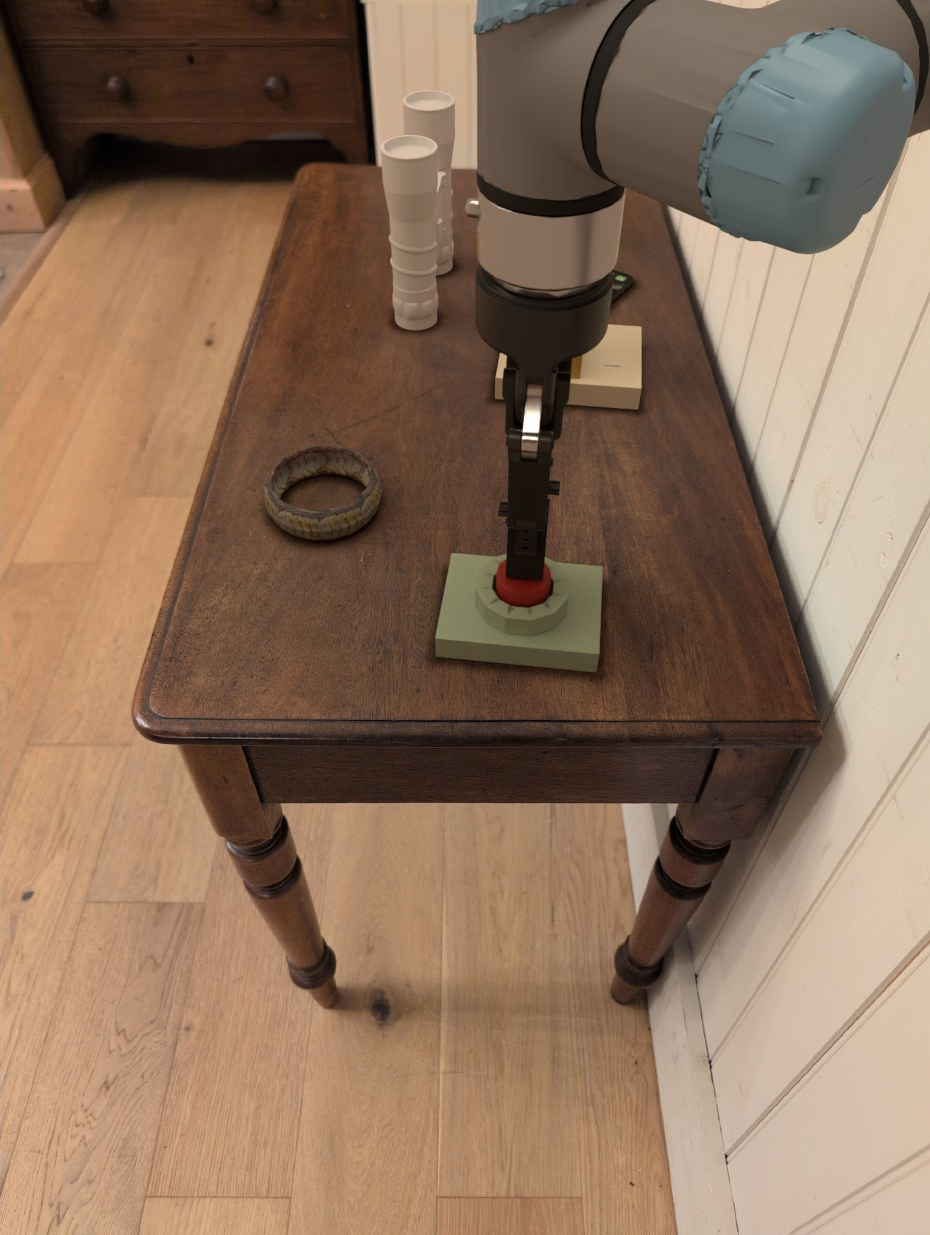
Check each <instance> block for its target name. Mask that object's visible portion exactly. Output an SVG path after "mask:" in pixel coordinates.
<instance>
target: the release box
mask: <svg viewBox="0 0 930 1235" xmlns="http://www.w3.org/2000/svg"><path fill="white" fill-rule="evenodd" d="M506 556H507V553H504V554H502V555H498V556H492V555H479V554H471V553H470V554H469V553H457V552H451V554H450V558H449V564H448V570H447V574H446V580H445V585H444V590H443V594H442V595H443V596H442V600H441V605H440V611H439V615H438V621H437V627H436V631H435V635H434V644H435V646H434V647H435V657H436V658H446V659H455V660H464V661H465V660H466V661H475V662H484V663H497V664H507V665H515V666H516V665H517V666H524V667H525V666H528V667H536V668H547V669H554V670H555V669H557V670H567V671H577V672H587V673H597V671H598V665H599V659H600V654H601V653H600V652H601V629H602V628H601V627H602V625H601V624H602V601H603V600H602V599H603V596H602V595H603V578H604V576H603V575H604V572H603V571H604V567H603V566H602V565H593V564H592V565H591V564H581V563H570V562H559V561H555V560H553V559H550V558H549V557H546V556H545V561H544V562H545V563H546V564H547V566H548V567H549V569H550V572H551V582H550V591H549V595H548V598H547V599H546V600H545V602H543V603H542V604H539V605H536V606H533V607H530V608H525V607H515V606H510V605H509V604H507V603H505V602H503V601H501V600H500V598H499V597H498V595H497V592H496V576H497V569H498V567H499V565H500V564H501V563H502V562H503V561H504V560H505V559H506Z"/></svg>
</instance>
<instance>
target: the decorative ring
mask: <svg viewBox="0 0 930 1235" xmlns="http://www.w3.org/2000/svg"><path fill="white" fill-rule="evenodd" d="M320 476H321V477H322V476H338V477H344V478H349V479H352V480H354V481H355V482H358V483H359V484H361V485H363V487H365V489H364V490H363V491H362V492H361V493H360V494H359V496H358V497H355V498H354V499H352V500H351V501H349V502H347V503H345V504H342V505H339V506H336V507H332V508H328V509H306V508H300V507H296V506H292V505H291V504H289V503H287V502H286V501H283V500H281V498H282V496H283V495H284V494H285V493H286V492H288V490H289V489H290V488H292V487H293V486H295V485H297V484H298V483H301V482H302V481H304V480H308V479H311V478H316V477H320ZM382 494H383V486H382V482H381V478H380V476H379V472H378V470H377V469H376V468H375V466H374V465H373V464H372V463H371V462H370V461H369V460H368V459H367V458H366V457H365V455H363V454H361V453H360V452H357V451H356V450H353V449H351V448H349V447H345V446H339V445H333V444H331V445H327V444H326V445H313V446H309V447H304V448H301V449H297V450H295V451H293V452H291V453H290V454H287V455H286V456H284V457H282V458H281V459H280V460H279V461H278V462H276V463H275V465H274V466H273V467H271V469H270V471H269V474H268V476H267V479H266V481H265V483H264V486H263V500H264V507H265V509H266V511H267V513H268V515H269V516H270V517H271V519H272V520H273V521H274V523H275V524H276V525H277V526H278V527H279V528H280V529H281V530H283V531H284V532H287V533H288V534H290V535H292V536H294V537H295V538H299V539H304V540H308V541H333V540H336V539H340V538H342V537H347V536H350V535H353V533H355V532H357V531H359V530H361V529H362V528H364V527H365V526H366V525H367V524H368V523H369V522H370V520H371V519H372V518H373V517H374V516H375V514H376V513H377V511H378V510H379V506H380V503H381V499H382Z"/></svg>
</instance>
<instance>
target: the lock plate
mask: <svg viewBox="0 0 930 1235" xmlns="http://www.w3.org/2000/svg"><path fill="white" fill-rule="evenodd" d="M642 328H643V327H642V326H638V325H626V324H625V325H623V324H612V323H611V324H609V323H608V328H607V332H606V334H605V336H604V338H603V339H602V341H601V342H600V343H599V344H598V345H597V346H596V347H595V348H594V349H592V350H591V351H589V352H587V353H586V354H583V356H582V365H581V374H580V378H571V382H570V392H569V400H568V402H567V403H566V404H565V405H567V406H569V405H570V406H581V407H582V406H583V407H597V408H608V409H609V408H611V409H620V410H621V409H622V410H634V411H635V410H636V411H637V410H639V406H640V401H641V395H642V387H643V379H642V378H643V377H642V376H643V375H642V374H643V367H642V366H643V363H642V362H643V361H642V360H643V356H642V351H643V347H642V346H643V344H642V343H643V341H642V336H643V333H642ZM506 359H507V356H506V355H504V354H502V353H499V356H498V362H497V368H496V373H495V378H494V380H495V384H494V388H495V389H494V399H495V400H502V401H505V400H504V398H503V396H502V383H503V371H504V368H506Z"/></svg>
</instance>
